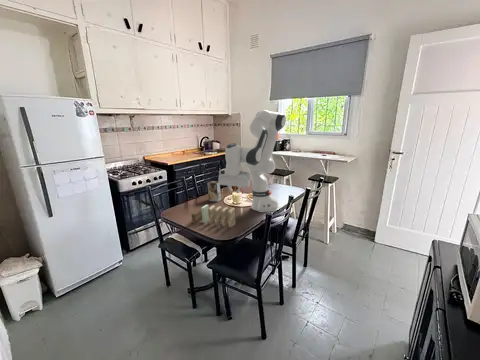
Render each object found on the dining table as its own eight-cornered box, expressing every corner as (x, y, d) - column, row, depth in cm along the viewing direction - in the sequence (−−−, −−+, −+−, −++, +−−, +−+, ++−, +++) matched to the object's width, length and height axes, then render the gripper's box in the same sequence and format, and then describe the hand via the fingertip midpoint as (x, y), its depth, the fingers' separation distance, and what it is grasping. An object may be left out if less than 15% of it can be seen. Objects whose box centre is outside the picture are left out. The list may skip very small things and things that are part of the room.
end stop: (205, 216, 165) (204, 207, 163) (196, 224, 155) (195, 214, 153) (201, 216, 166) (201, 207, 165) (192, 223, 156) (191, 213, 154)
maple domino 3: (228, 222, 155) (227, 207, 152) (224, 226, 150) (223, 210, 147) (226, 222, 156) (225, 207, 153) (222, 226, 150) (221, 210, 148)
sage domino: (209, 219, 161) (208, 204, 158) (205, 223, 155) (203, 208, 152) (207, 219, 161) (206, 204, 158) (202, 222, 156) (201, 207, 153)
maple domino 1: (216, 220, 159) (215, 205, 156) (211, 224, 153) (210, 209, 150) (213, 220, 159) (212, 205, 157) (209, 224, 154) (208, 208, 151)
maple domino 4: (235, 223, 153) (234, 208, 150) (231, 227, 148) (230, 211, 145) (232, 223, 154) (231, 207, 151) (228, 227, 149) (227, 211, 146)
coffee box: (221, 199, 199) (220, 181, 195) (218, 202, 193) (216, 183, 189) (212, 198, 202) (210, 180, 198) (208, 201, 196) (207, 182, 192)
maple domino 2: (222, 221, 157) (221, 206, 154) (218, 225, 152) (217, 209, 149) (219, 221, 158) (218, 206, 155) (215, 225, 152) (214, 209, 149)
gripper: (251, 170, 139) (252, 192, 142) (221, 168, 147) (222, 189, 151) (247, 173, 133) (248, 195, 137) (216, 171, 141) (218, 192, 145)
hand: (234, 192), depth 144 cm, fingers open, 3 cm apart
